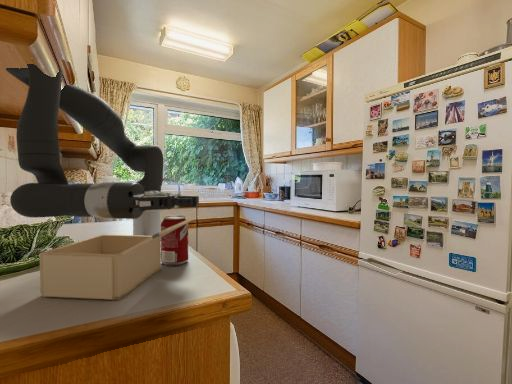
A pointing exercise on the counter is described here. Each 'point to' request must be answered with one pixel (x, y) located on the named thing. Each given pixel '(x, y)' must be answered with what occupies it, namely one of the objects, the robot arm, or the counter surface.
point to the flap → (158, 235)
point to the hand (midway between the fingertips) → (197, 201)
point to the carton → (98, 267)
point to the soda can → (174, 241)
